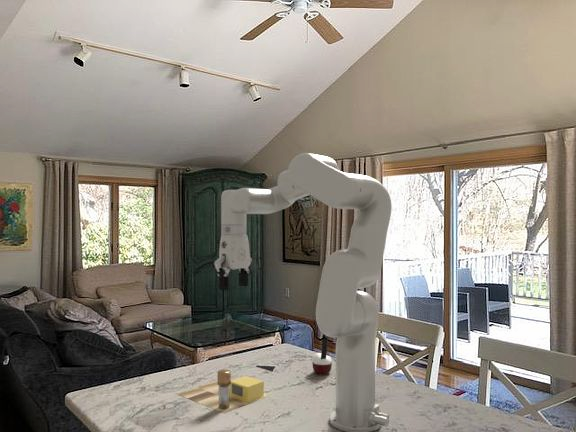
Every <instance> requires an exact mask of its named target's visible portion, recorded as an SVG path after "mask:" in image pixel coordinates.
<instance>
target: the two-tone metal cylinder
mask: <svg viewBox="0 0 576 432" xmlns="http://www.w3.org/2000/svg"><path fill="white" fill-rule="evenodd" d="M216 374H217V375H216V377H217V379H216V380H217V384H218V385H219V408H220V409H228V408H229V407H230V384H231V381H232V377H231V376H232V372H231V370H229V369H220V370H218V371H217V373H216Z"/></svg>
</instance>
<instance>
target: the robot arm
mask: <svg viewBox="0 0 576 432" xmlns="http://www.w3.org/2000/svg"><path fill="white" fill-rule="evenodd" d="M278 175H279V176H278V177H277V185H276V186H273V187H270V188H267V189H266V188H258V187H257V188H256V187H241V188H238V189H227V190H224V191H222V193H221V197H220V198H221V201H220V202H221V205H220V206H221V208H220V211H221V212H220V213H221V216H220V217H221V219H220V220H221V226H220V227H221V233H220V234H221V235H220V239H219V240H220V241H219V250H218V251H219V252H218V256H219V257H218V258H217V259H215V261H214V263H213V265H214V267H215V272H216V273H217V276H218V290H219V291H229V290H230V276H229V273H230V271H231V270H234V271H235V270H238V271H239V273H238V286H240V287H248V286H249V273H250V269H251V266H252V265H251V264H252V261H253V259H252V257H251V254H250V253H251V252H250V242H249V237H248V234H247V215H269V214H274V213H277V212H280V211H283V210H285V209H288V208H289V207H290V206H292V205H293V204H294V203H295V202H296V201H298V200H300V199H303V198H305V197H308V196H311V197H313V198H314V199H316V200H317V201H319V202H321V203H323V204H324V205H326V206H328V207H331V208H332V209H333V208H334V209H338V210H357V212H358V213H357V215H356V218H355V219H354V221H353V224H352V226H351V229H350V236H349V240H348V245H347V248H346V249H344V248H343V249H339V250H336V251H334V252H333V253H331V254H330V255H329V256H328V257H327V259H326V260H325V262H324V264H323V267H322V269H321V270H322V271H321V275H320V280H319V287H318V293H317V298H316V299H317V300H316V306H315V319H316V320H315V321H316V325H317V327H318V329H319V330H320V332H321V333H322V334H323V335H324V336H327V337H329V338H333V339H336V341H335V342H336V343H335V410H333V411H332V412H331V413H330V414H329V418H328V419H329V420H328V421H329V423H330V425H331V426H332V427H334V428H335V429H337V430H340V431H343V432H374V431H377V430H378V429H380V428H381V427H386V428H388V426H389V424H390V415H389V414H387V413H384V412H381V411H380V404H377V403H376V339H377V329H378V323H379V307H378V303H377V302H376V300H375V299H374V297H373V296H372V295H371V294H370V293H368V292H366V291H362V289H365V288H369V287H371V286H373V285H375V284H376V283H377V281H378V280H379V279H380V276H381V270H382V264H383V261H384V260H383V258H384V254H385V247H386V242H387V237H388V231H389V230H388V229H389V226H390V221H391V217H392V209H393V207H392V199H391V197H390V193H389V192H388V190H387V189H386V187H385V186H384V185H383V184H382V183H381V182H380V181H378V180H377V179H376V178H373V177H371V176H369V175H364V174H360V173H359V174H358V173H349V172H343V171H340V168H339V165H338V164H337V162H336V161H335V160H334V159H333V158H331V157H329V156H326V155H321V154H317V153H316V154H315V153H310V152H303V153H300V154H298V155H296V156H294V158H293V159H292V160H291V161H290V163H289V165H288V169H286V170H284V171H282V172H280V174H278ZM360 289H361V290H360Z"/></svg>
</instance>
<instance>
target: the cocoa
mask: <svg viewBox="0 0 576 432" xmlns="http://www.w3.org/2000/svg"><path fill="white" fill-rule="evenodd" d="M328 343H329V339H328V338H323V339H322V344H321V352H316V353H314V354H313V355H312V359H311V360H312V362H311V363H312V370H313V372H314V373H315V374H316V375H319V376H326V375H328V374H329V373H330V372H331V371H332V367H333V366H332V365H333V364H332V358H331V356H329V355H327V353H328Z"/></svg>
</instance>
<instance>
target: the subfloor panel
mask: <svg viewBox="0 0 576 432" xmlns="http://www.w3.org/2000/svg"><path fill="white" fill-rule="evenodd" d="M176 395H178V396H180V397H182V398H185V399H187V400H190V401H192V402H195V403H197V404H200V405H202V406H205V407H208V408H210V409H213V410H215V411H218V412H220V413H223V414H226V413H228V412H229V413H230V412H231V411H233V410H236V409H238V408H242V407H244V406H245V405H248V404H251V403H253V402H255V401H258V400H260V399H263V398H265V397H267V396H269V394H267V393H264V396H263V397H260V398H258V399H255V400H253V401H250V402H245V401H242V400H239V399H236V398H234V397H231V396H230V407H229V408H228V409H220V408H219V385H218V384H217V379H216V380H213V381H211V382H208V383H205V384H202V385H199V386H195V387H193V388H191V389H187V390H184V391H181V392H179V393H176Z"/></svg>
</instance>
